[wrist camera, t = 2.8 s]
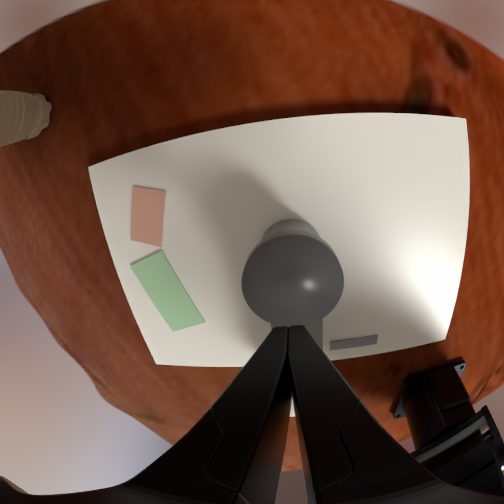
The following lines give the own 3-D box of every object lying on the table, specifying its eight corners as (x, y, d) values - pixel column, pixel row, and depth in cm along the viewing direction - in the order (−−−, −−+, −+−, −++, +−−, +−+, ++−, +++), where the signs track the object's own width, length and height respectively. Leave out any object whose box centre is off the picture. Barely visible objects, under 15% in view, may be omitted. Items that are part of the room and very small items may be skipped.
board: (440, 331, 16) (445, 340, 15) (160, 355, 20) (155, 365, 19) (456, 118, 11) (467, 118, 10) (97, 164, 15) (86, 167, 13)
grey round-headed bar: (246, 216, 14) (232, 243, 10) (327, 206, 13) (342, 231, 9) (273, 373, 18) (269, 417, 14) (331, 368, 17) (336, 412, 13)
